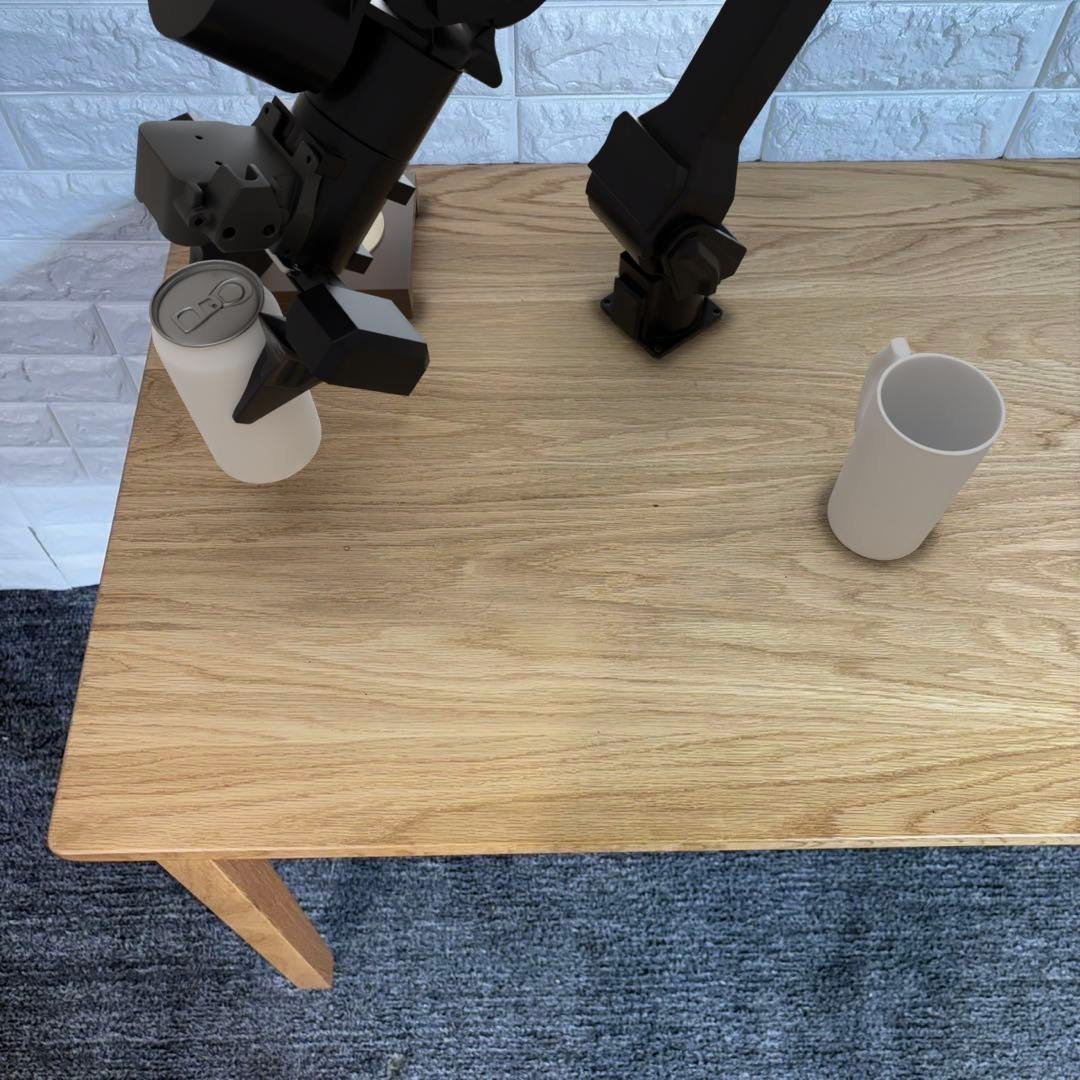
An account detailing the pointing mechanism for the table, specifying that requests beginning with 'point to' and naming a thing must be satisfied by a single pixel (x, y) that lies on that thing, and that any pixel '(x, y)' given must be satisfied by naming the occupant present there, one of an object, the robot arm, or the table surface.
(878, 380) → the mug
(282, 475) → the can
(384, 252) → the coaster holder tray
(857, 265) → the table surface
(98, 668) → the table surface
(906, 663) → the table surface
